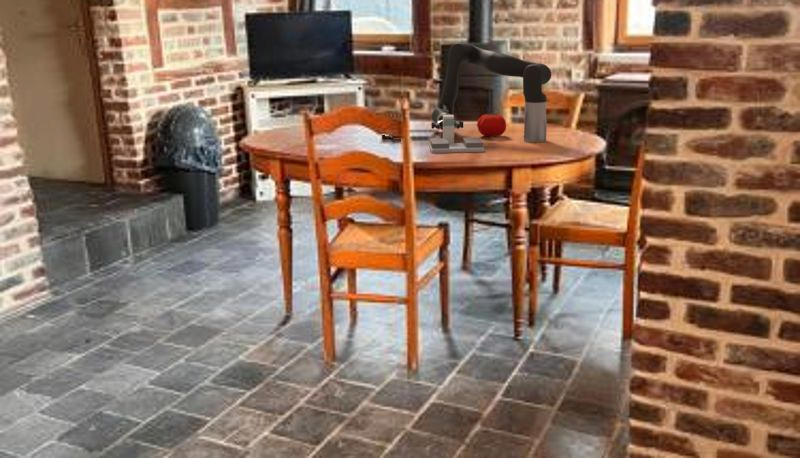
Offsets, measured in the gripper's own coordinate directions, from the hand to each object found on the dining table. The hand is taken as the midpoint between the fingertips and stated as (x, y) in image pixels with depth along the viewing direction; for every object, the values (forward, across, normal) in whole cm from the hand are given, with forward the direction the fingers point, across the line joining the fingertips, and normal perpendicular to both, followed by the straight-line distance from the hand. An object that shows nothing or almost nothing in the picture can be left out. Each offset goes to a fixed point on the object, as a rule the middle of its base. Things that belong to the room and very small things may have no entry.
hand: (448, 126), depth 341 cm
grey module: (+1, 0, +7) cm, 7 cm away
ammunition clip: (-13, -24, +7) cm, 28 cm away
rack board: (+16, +2, +7) cm, 17 cm away
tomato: (-14, +21, +7) cm, 26 cm away
